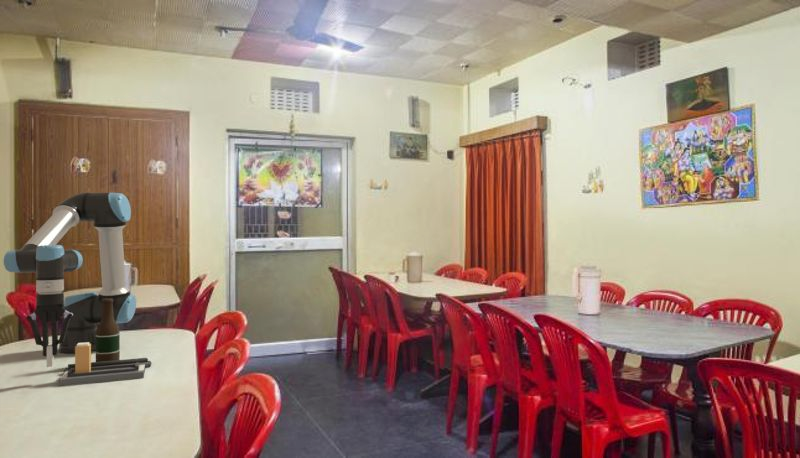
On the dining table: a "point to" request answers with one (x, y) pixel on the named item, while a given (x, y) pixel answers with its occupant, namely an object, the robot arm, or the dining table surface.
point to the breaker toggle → (83, 357)
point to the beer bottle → (107, 334)
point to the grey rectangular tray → (103, 374)
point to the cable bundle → (115, 363)
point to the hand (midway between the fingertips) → (50, 365)
